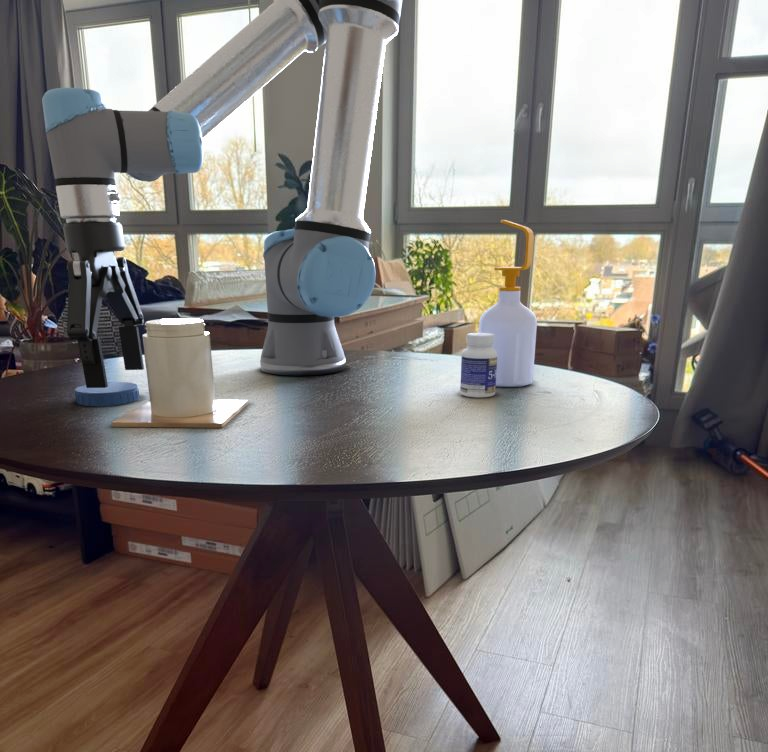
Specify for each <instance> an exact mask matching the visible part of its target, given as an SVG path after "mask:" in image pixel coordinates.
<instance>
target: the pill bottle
mask: <svg viewBox="0 0 768 752" xmlns="http://www.w3.org/2000/svg"><path fill="white" fill-rule="evenodd" d="M465 342H466V343H465V344H467V347H466V348H464V349H463V350H462V352H461V357H460V358H461V361H460V362H461V364H460V384H459V385H460V386H459V387H460V389H459V391H460V392H459V393H460V395H461V396H464V397H466V398H467V397H469V398H490V397H493V396H495V395H496V388H497V387H496V370H497V352H496V350H494V349H492V345H493V344H494V343H493V342H494V334H491V333H479V332H470V333H469V332H468V333H466V340H465Z"/></svg>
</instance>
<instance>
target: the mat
mask: <svg viewBox="0 0 768 752" xmlns="http://www.w3.org/2000/svg"><path fill="white" fill-rule="evenodd" d="M215 400H216V410H215V411H214V412H211V413H209V414H205V415H200V416H193V417H180V418H170V417H160V416H156V415H153V414H152V413H151V406H150V400H148V401H147V402H146V401H145V403H143V404H141V405H140V406H138V407H136V408H133V410H130V411H129V412H127V413H125V414H123V415H121V416H120V417H119V418H117V419H115V420H113V421H111V427H113V428H183V429H184V428H185V429H186V428H187V429H188V428H193V429H194V428H195V429H197V428H198V429H199V428H200V429H202V428H203V429H222V428H224V427H225V426H226V425H227V424H228V423H230V421H231V420H232V419H234V418H235V417H236V416H237V415H238V414H240V413H241V411H242V410H244V409H245V408H246V406H248V405H249V400H248V399H215Z"/></svg>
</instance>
